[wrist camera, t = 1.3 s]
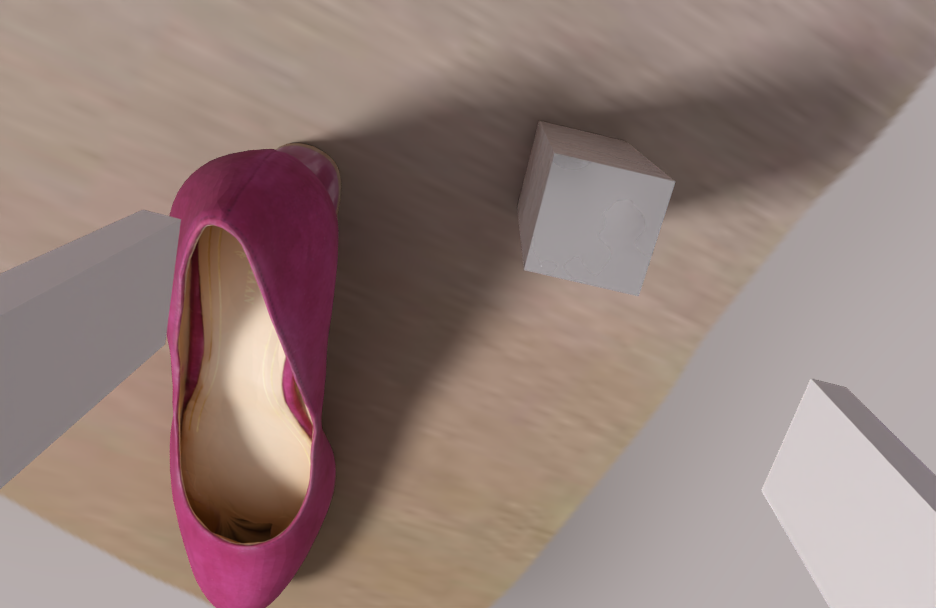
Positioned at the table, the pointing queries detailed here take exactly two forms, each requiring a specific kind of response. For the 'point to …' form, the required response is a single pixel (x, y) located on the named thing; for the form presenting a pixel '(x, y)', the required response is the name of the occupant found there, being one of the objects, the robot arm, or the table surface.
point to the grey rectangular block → (590, 209)
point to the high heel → (252, 367)
